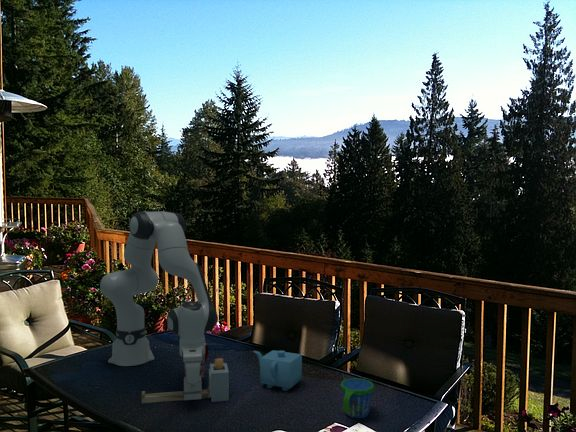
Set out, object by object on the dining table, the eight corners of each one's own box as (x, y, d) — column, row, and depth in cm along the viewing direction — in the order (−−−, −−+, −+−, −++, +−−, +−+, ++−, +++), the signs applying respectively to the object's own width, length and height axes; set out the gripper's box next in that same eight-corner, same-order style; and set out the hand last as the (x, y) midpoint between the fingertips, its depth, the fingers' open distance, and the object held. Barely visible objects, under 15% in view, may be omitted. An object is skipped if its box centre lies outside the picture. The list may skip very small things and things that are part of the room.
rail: (142, 399, 183) (142, 391, 183) (210, 394, 188) (210, 386, 187) (141, 403, 180) (141, 394, 180) (210, 397, 185) (210, 389, 185)
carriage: (184, 394, 187) (183, 377, 186) (201, 393, 188) (201, 375, 188) (184, 400, 182) (183, 382, 182) (201, 398, 183) (201, 380, 183)
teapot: (304, 380, 201) (304, 347, 200) (287, 395, 187) (287, 359, 186) (262, 373, 209) (262, 341, 208) (243, 387, 194) (242, 353, 194)
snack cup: (357, 427, 162) (358, 395, 162) (329, 417, 169) (329, 386, 169) (383, 411, 174) (383, 380, 174) (356, 402, 181) (356, 373, 180)
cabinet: (208, 390, 191) (208, 363, 190) (226, 389, 192) (226, 362, 192) (210, 402, 181) (210, 373, 181) (228, 400, 182) (228, 372, 182)
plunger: (214, 372, 187) (214, 358, 187) (223, 371, 188) (222, 357, 188) (215, 375, 185) (214, 361, 184) (223, 374, 185) (223, 360, 185)
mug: (195, 384, 197) (195, 349, 196) (177, 379, 202) (177, 345, 201) (217, 374, 208) (216, 340, 207) (199, 369, 213) (199, 336, 212)
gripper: (183, 340, 193) (183, 377, 194) (183, 358, 173) (183, 399, 174) (200, 339, 195) (200, 376, 196) (202, 357, 175) (202, 398, 176)
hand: (192, 387), depth 185 cm, fingers closed on carriage, 5 cm apart
